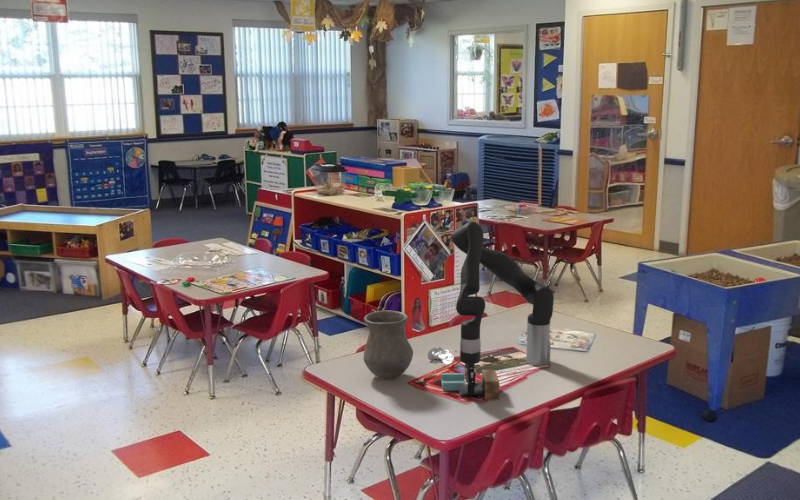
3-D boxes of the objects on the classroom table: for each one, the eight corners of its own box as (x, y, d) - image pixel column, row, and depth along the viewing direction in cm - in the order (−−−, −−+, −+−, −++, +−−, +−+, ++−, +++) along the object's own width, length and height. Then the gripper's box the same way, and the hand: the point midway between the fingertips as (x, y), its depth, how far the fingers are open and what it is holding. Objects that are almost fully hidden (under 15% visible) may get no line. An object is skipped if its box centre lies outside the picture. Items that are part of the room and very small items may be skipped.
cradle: (463, 380, 303) (464, 373, 302) (466, 390, 293) (466, 382, 293) (441, 380, 303) (441, 373, 302) (442, 390, 293) (442, 383, 293)
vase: (402, 388, 295) (402, 326, 290) (356, 382, 302) (355, 321, 296) (419, 370, 313) (419, 311, 308) (375, 365, 320) (374, 307, 314)
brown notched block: (494, 386, 296) (494, 369, 295) (498, 399, 285) (499, 381, 283) (481, 386, 296) (481, 369, 295) (485, 399, 285) (485, 381, 283)
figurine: (441, 345, 331) (459, 347, 321) (442, 360, 331) (460, 363, 321) (424, 348, 325) (442, 351, 315) (425, 363, 325) (443, 366, 316)
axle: (496, 391, 292) (496, 379, 291) (498, 396, 287) (498, 384, 286) (459, 392, 291) (459, 380, 290) (460, 397, 287) (460, 384, 286)
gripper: (458, 342, 292) (458, 385, 296) (462, 355, 278) (461, 400, 282) (478, 342, 292) (477, 384, 296) (482, 355, 278) (482, 399, 282)
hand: (469, 392), depth 289 cm, fingers closed on axle, 4 cm apart
